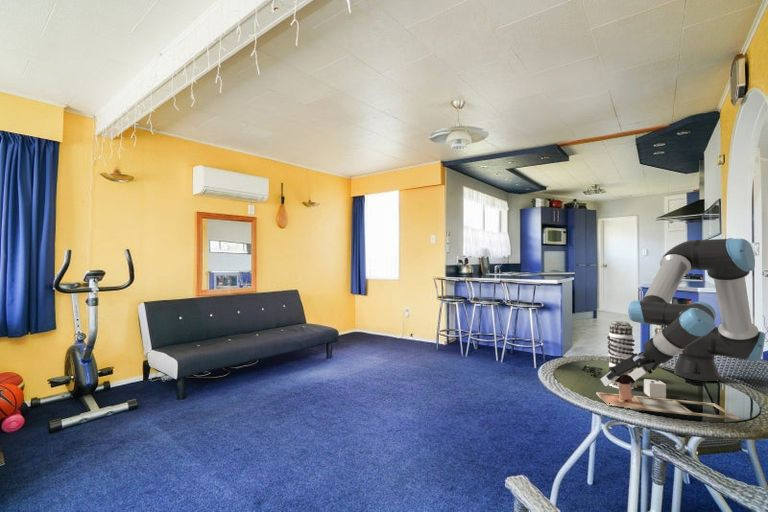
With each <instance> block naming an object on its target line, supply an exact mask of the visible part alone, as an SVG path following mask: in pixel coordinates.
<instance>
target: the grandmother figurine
mask: <svg viewBox="0 0 768 512" xmlns="http://www.w3.org/2000/svg"><path fill="white" fill-rule="evenodd" d="M628 372H630V371H628ZM628 372H626V373H624V374H622V375H620V377H619V378H617V379H616V380H615V381H613V382H612V385H615V384H616V382H619V389H618V394H619V399H618V401H620V402H623V403H625V399H626V401H627V402H628V403H633V401H632V396H633V395H632V389H631V387H630V382H631V383H632V384H633V387H634V388H635V389H636V388H638V385H637V383H636V381H634V379H633V378H632V377H631V376H629V375H627V374H628Z"/></svg>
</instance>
